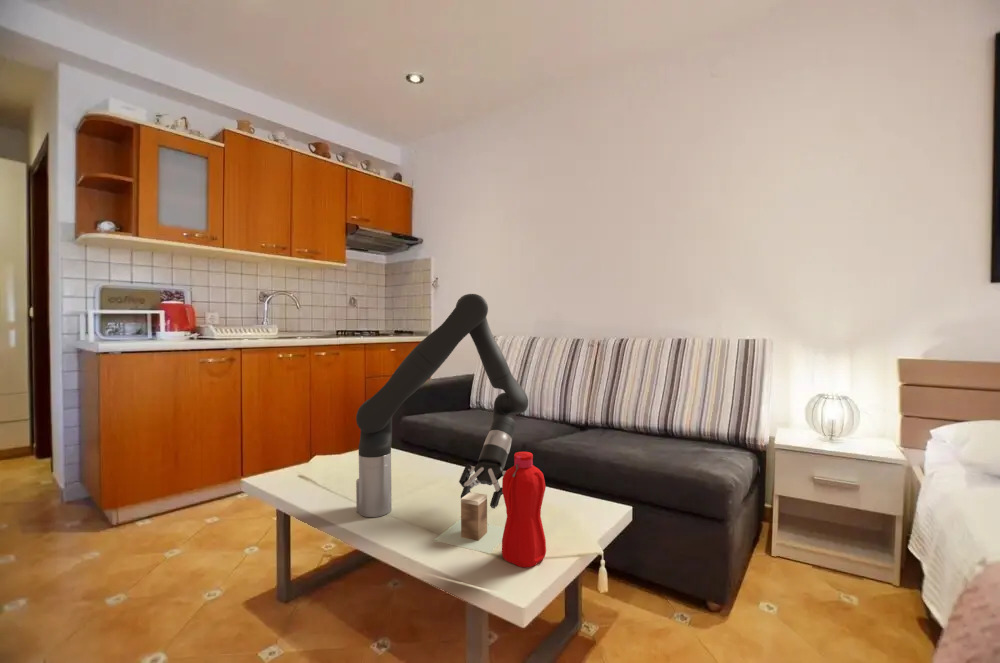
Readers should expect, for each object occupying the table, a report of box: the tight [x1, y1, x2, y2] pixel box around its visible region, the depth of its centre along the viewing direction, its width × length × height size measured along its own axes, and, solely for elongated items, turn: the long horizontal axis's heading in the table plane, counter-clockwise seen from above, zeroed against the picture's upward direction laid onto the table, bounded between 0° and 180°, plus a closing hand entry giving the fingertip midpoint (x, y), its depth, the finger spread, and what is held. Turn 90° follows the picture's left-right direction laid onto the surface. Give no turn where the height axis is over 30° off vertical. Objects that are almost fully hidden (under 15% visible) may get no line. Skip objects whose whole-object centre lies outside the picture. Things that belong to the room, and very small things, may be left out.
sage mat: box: [433, 518, 505, 555], centre depth 119 cm, size 16×14×1 cm
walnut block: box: [460, 491, 488, 541], centre depth 119 cm, size 5×5×10 cm
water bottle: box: [501, 451, 547, 568], centre depth 107 cm, size 9×11×25 cm
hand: (477, 504), depth 120 cm, fingers open, 8 cm apart
